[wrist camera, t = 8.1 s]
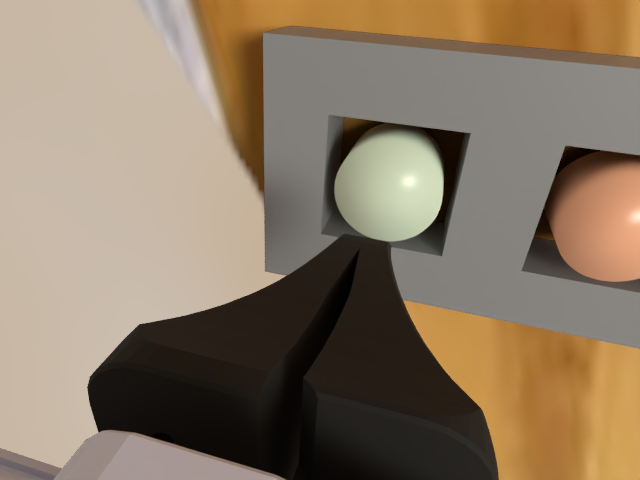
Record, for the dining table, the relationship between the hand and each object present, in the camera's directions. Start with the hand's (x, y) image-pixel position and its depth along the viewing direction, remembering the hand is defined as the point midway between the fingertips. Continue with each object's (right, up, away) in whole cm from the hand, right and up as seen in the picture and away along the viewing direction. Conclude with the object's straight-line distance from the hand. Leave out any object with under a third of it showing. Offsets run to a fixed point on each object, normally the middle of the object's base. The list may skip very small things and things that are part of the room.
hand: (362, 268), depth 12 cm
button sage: (+2, +4, +6) cm, 8 cm away
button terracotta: (+10, +2, +5) cm, 11 cm away
